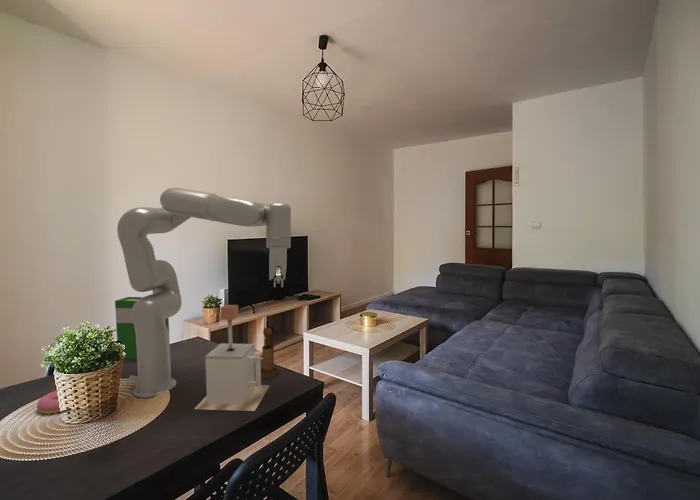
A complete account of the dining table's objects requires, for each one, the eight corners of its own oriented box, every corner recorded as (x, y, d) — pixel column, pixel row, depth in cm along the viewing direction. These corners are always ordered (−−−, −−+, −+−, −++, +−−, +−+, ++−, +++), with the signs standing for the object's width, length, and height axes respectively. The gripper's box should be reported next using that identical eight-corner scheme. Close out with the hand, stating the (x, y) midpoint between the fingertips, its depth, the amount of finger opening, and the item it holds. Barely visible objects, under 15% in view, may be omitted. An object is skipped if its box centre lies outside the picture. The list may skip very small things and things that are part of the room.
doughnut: (48, 420, 100) (47, 406, 100) (29, 411, 105) (28, 397, 104) (91, 402, 110) (90, 389, 109) (72, 394, 115) (71, 382, 114)
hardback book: (170, 353, 150) (167, 297, 148) (158, 360, 142) (156, 301, 141) (131, 352, 152) (128, 296, 150) (118, 358, 144) (114, 300, 142)
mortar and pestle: (273, 381, 123) (272, 331, 122) (255, 380, 124) (254, 330, 123) (280, 373, 130) (279, 325, 128) (264, 372, 131) (263, 324, 130)
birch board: (194, 412, 103) (193, 409, 103) (217, 386, 119) (217, 384, 119) (254, 414, 103) (254, 410, 102) (270, 388, 118) (270, 385, 118)
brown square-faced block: (212, 370, 107) (210, 309, 105) (223, 359, 115) (221, 303, 114) (239, 371, 106) (237, 310, 105) (248, 360, 115) (247, 303, 113)
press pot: (207, 404, 106) (205, 356, 105) (222, 387, 117) (220, 343, 116) (254, 405, 105) (253, 357, 104) (265, 388, 116) (264, 344, 115)
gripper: (267, 241, 119) (267, 291, 120) (265, 244, 102) (265, 303, 103) (289, 241, 120) (289, 291, 122) (291, 245, 103) (291, 302, 105)
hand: (278, 296), depth 112 cm, fingers open, 9 cm apart
